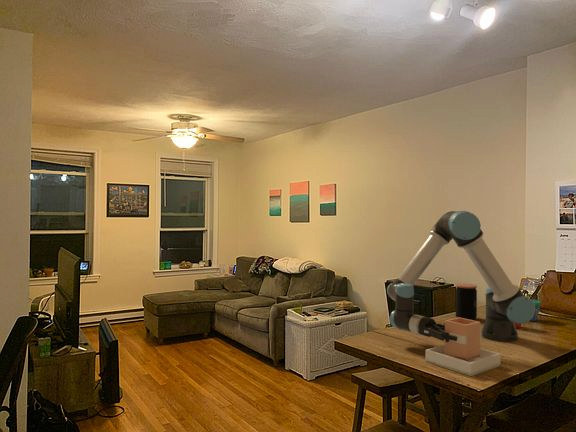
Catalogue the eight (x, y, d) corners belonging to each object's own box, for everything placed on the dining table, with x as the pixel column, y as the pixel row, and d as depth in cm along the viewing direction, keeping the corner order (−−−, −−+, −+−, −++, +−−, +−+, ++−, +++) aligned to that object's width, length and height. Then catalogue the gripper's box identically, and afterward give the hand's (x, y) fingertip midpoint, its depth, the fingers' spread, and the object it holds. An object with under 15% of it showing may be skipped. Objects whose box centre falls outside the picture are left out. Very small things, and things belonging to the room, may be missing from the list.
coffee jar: (478, 321, 235) (478, 287, 234) (457, 320, 237) (457, 286, 237) (474, 316, 245) (474, 283, 245) (454, 315, 247) (454, 283, 247)
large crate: (455, 352, 181) (455, 341, 181) (500, 365, 166) (500, 353, 166) (425, 361, 170) (425, 349, 170) (470, 376, 155) (470, 363, 155)
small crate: (458, 350, 175) (458, 317, 174) (480, 356, 167) (480, 321, 167) (444, 354, 169) (444, 320, 169) (466, 361, 162) (466, 325, 162)
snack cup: (523, 315, 247) (524, 297, 247) (545, 319, 240) (545, 300, 240) (513, 320, 236) (513, 301, 236) (535, 324, 229) (535, 304, 229)
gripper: (439, 330, 189) (489, 343, 171) (405, 339, 177) (455, 354, 158) (439, 313, 189) (489, 324, 171) (405, 320, 177) (456, 332, 158)
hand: (473, 338), depth 164 cm, fingers closed on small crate, 9 cm apart
